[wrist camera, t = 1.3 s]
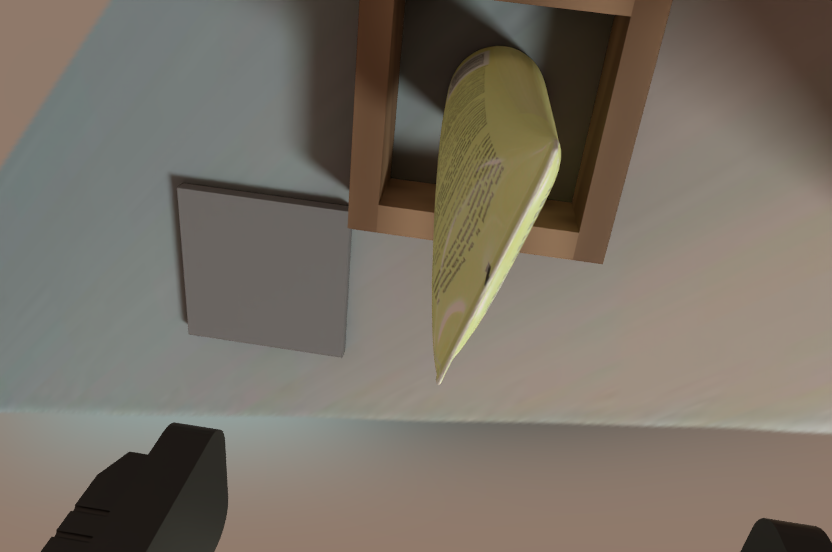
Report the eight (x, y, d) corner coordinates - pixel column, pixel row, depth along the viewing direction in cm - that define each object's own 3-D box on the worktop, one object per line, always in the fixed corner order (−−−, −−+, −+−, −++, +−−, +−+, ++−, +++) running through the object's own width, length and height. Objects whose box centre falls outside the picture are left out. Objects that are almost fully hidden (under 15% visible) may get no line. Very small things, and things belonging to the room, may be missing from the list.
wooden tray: (657, -25, 30) (677, -19, 27) (593, 231, 36) (602, 264, 33) (378, -58, 31) (362, -55, 27) (362, 199, 37) (347, 228, 34)
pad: (353, 206, 37) (350, 211, 37) (344, 350, 42) (342, 357, 42) (182, 183, 38) (176, 187, 37) (193, 327, 43) (188, 334, 42)
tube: (561, 136, 34) (617, 348, 17) (468, 166, 36) (434, 389, 18) (530, 27, 32) (560, 146, 15) (432, 63, 33) (356, 210, 16)
